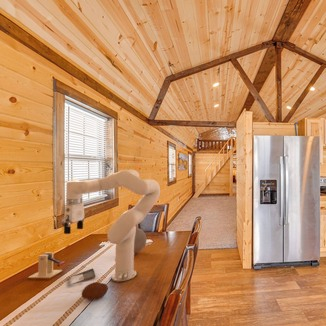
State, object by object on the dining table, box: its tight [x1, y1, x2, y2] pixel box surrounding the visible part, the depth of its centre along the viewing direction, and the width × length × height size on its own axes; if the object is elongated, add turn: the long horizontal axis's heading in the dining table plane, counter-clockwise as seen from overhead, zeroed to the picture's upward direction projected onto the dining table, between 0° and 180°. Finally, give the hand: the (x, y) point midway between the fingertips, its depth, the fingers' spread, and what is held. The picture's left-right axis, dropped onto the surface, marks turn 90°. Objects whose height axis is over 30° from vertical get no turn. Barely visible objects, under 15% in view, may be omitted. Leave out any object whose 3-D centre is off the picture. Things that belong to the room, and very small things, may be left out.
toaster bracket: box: [27, 251, 63, 279], centre depth 134 cm, size 12×9×13 cm
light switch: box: [70, 268, 96, 285], centre depth 130 cm, size 11×2×12 cm
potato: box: [81, 281, 109, 301], centre depth 112 cm, size 8×11×8 cm
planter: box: [134, 227, 148, 254], centre depth 169 cm, size 18×7×19 cm, turn 114°
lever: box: [43, 253, 67, 267], centre depth 134 cm, size 12×5×2 cm, turn 90°
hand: (73, 231), depth 134 cm, fingers open, 9 cm apart
